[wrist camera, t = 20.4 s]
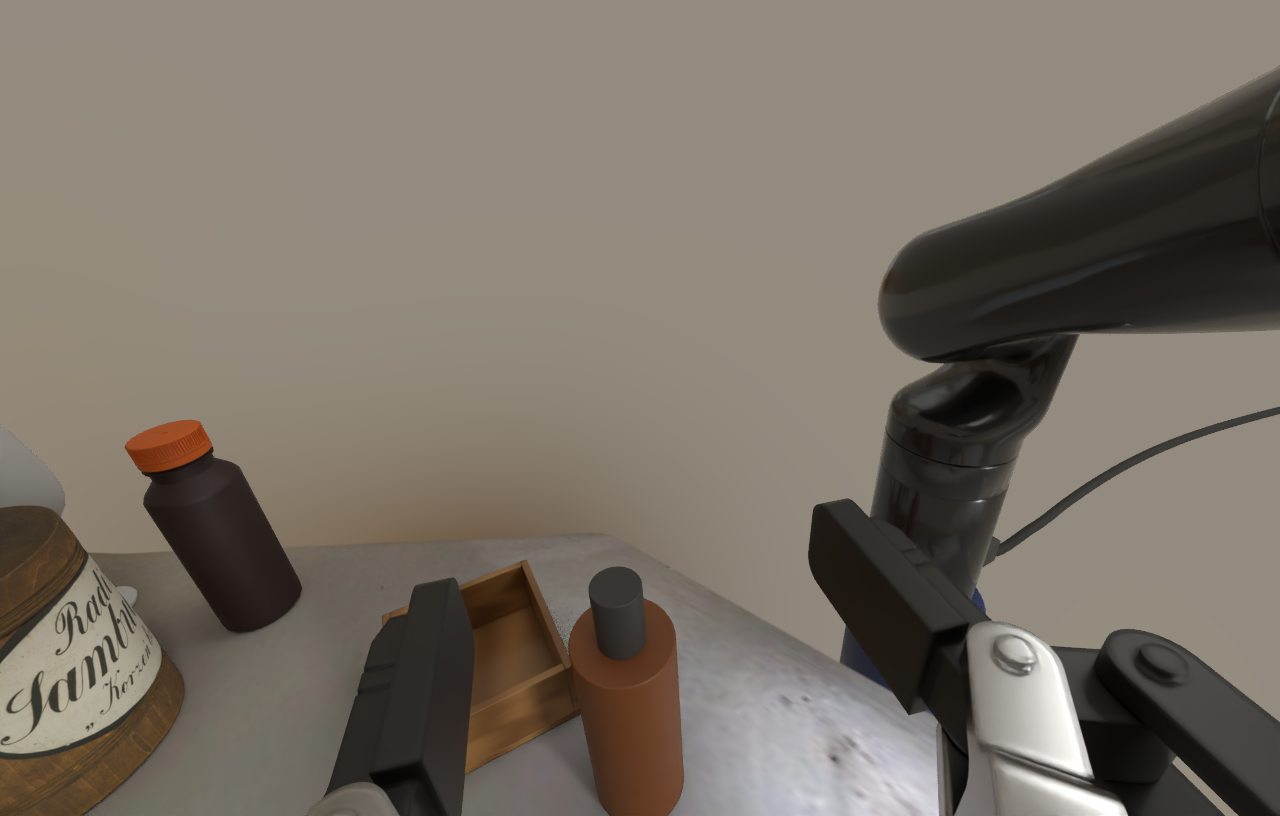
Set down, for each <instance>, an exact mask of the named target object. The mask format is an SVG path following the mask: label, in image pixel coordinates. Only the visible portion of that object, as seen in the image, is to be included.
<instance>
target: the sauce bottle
mask: <svg viewBox="0 0 1280 816" xmlns="http://www.w3.org/2000/svg"><path fill="white" fill-rule="evenodd" d="M589 597H590V603H591V607H590V608H589V609H588V610H587V611H585V612H584V613H583V614H582V615H581V616H580V618H579V619H578V620H577V622H576V623H575V625H574V627H573V629H572V632H571V634H570V638H569V645H568V649H569V657H570V662H571V666H572V671H573V676H574V681H575V686H576V691H577V696H578V700H579V705H580V710H581V715H582V720H583V725H584V729H585V734H586V739H587V744H588V749H589V754H590V758H591V763H592V768H593V773H594V778H595V783H596V787H597V792H598V796H599V799H600V801H601V803H602V805H603V807H604V808H605V810H606V811H607V812H608V813H609V815H610V816H667V815H668V814H669V813H670V812H671V811H672V809H673V808H674V807H675V805H676V804H677V802H678V800H679V797H680V795H681V792H682V788H683V782H684V771H683V754H682V737H681V719H680V702H679V684H678V667H677V649H676V634H675V629H674V626H673V623H672V621H671V619H670V618H669V616H668V615H667V614H666V612H665V611H664V610H663V609H662V608H661V607H659V606H658V605H656V604H655V603H653V602H651V601H649V600H647V599H644V598H643V589H642V581H641V579H640V577H639V576H638V574H637V573H636V572H634V571H633V570H631V569H629V568H625V567H610V568H607V569H604V570H602V571H601V572H599V573H598V574H596V575H595V576H594V577H593V579H592V580H591V582H590V585H589Z"/></svg>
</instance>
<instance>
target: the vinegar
mask: <svg viewBox="0 0 1280 816" xmlns="http://www.w3.org/2000/svg"><path fill="white" fill-rule="evenodd" d="M125 449H126V450H127V452H128V454H129V455H130V457H131V458H132V460H133V461H134V463H135V465H136V466H137V468H138V469H139V470H140V471H141V472H142V474H144V475H145V476H148V477H150V478H151V480H152V482H151V485H150V486H149V488H148V490H147V492H146V493H145V496H144V503H143V505H144V507H145V508H146V510H147V511H148V513H149V514H150V516H151V517H152V519H153V520H154V522H155V523H156V525H157V526H158V528H159V529H160V531H161V532H162V534H163V536H164V537H165V539H166V540H167V541H168V543H169V545H170V546H171V548H172V549H173V551H174V552H175V554H176V555H177V557H178V558H179V560H180V561H181V563H182V564H183V566H184V567H185V569H186V570H187V572H188V573H189V575H190V576H191V578H192V579H193V581H194V582H195V584H196V585H197V587H198V588H199V590H200V591H201V593H202V594H203V596H204V597H205V599H206V600H207V602H208V603H209V605H210V606H211V608H212V609H213V611H214V613H215V614H216V616H217V617H218V619H219V620H220V622H221V623H222V624H223V625H224V626H225V627H226V628H227V629H228V630H231V631H235V632H242V631H250V630H254V629H257V628H260V627H263V626H265V625H267V624H269V623H271V622H273V621H275V620H276V619H278V618H279V617H280V616H282V615H283V614H285V613H286V612H287V611H288V610H289V609H290V608H291V607H292V606H293V605H294V604H295V602H296V601H297V599H298V598H299V596H300V593H301V589H302V588H301V584H300V581H299V579H298V577H297V575H296V573H295V571H294V569H293V567H292V565H291V564H290V562H289V560H288V558H287V556H286V554H285V552H284V550H283V548H282V547H281V545H280V543H279V541H278V539H277V537H276V535H275V533H274V531H273V530H272V528H271V526H270V524H269V522H268V520H267V518H266V516H265V514H264V512H263V511H262V509H261V507H260V505H259V503H258V501H257V499H256V497H255V495H254V494H253V492H252V490H251V488H250V486H249V484H248V482H247V480H246V478H245V477H244V475H243V473H242V471H241V469H240V468H239V466H237V465H236V464H234V463H232V462H229V461H225V460H222V459H217V458H214V456H213V455H212V453H213V451H214V450H213V446H212V443H211V441H210V439H209V437H208V436H207V434H206V432H205V430H204V428H203V427H202V425H201V423H200V422H199V421H195V420H183V421H176V422H171V423H167V424H163V425H160V426H157V427H154V428H152V429H149V430H146V431H144V432H142V433H140V434H138V435H136V436H135V437H133V438H132V439H130V440H129V441H128V442H127V443H126V445H125Z"/></svg>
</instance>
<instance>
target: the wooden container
mask: <svg viewBox="0 0 1280 816" xmlns="http://www.w3.org/2000/svg"><path fill="white" fill-rule="evenodd" d="M183 697H184V683H183V678H182V676H181V674H180V672H179V671H178V669H177V668H176V666H175V665H174V664H173V662H172V661H171V660H170V658H169V657H168V656H167V654H166V653H165V652H164V650H163V649H162V648H161V646H160V645H159V643H158V641H157V640H156V638H155V637H154V636H153V634H152V633H151V632H150V630H149V629H148V628H147V626H146V625H145V624H144V622H143V621H142V620H141V618H140V617H139V616H138V615H137V613H136V612H135V611H134V610H133V608H132V607H131V606H130V605H129V603H128V602H127V601H126V600H125V598H124V597H123V596H122V595H121V594H120V593H119V591H118V590H117V589H116V588H115V586H114V585H113V584H112V583H111V581H110V580H109V579H108V578H107V576H106V575H105V574H104V573H103V572H102V570H101V569H100V568H99V566H98V565H97V564H96V563H95V562H94V560H93V559H92V558H91V557H90V555H89V554H88V553H87V552H86V551H85V550H84V548H83V547H82V546H81V544H80V542H79V541H78V540H77V538H76V537H75V535H74V534H73V532H72V531H71V530H70V528H69V527H68V526H67V525H66V523H65V522H64V521H63V520H62V519H61V517H60V516H59V515H58V514H57V513H56V512H55V511H53V510H52V509H49V508H46V507H42V506H32V505H25V506H10V507H3V508H0V816H80V815H82V814H83V813H85V812H86V811H87V810H89V809H90V808H91V807H93V806H94V805H95V804H97V803H98V802H99V801H101V800H102V799H103V798H104V797H106V796H107V795H108V794H109V793H110V792H112V791H113V790H114V789H115V788H116V787H117V786H119V785H120V784H121V783H122V782H123V781H124V780H125V779H126V778H127V777H128V776H130V775H131V774H132V773H133V772H134V771H135V770H136V769H137V768H138V767H139V766H140V765H141V764H142V762H143V761H144V760H145V759H146V758H147V757H148V756H149V755H150V754H151V752H152V751H153V750H154V749H155V748H156V746H157V745H158V744H159V743H160V741H161V740H162V739H163V737H164V736H165V734H166V733H167V732H168V730H169V729H170V727H171V725H172V724H173V722H174V720H175V718H176V716H177V714H178V712H179V709H180V707H181V704H182V700H183Z"/></svg>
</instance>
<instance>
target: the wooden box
mask: <svg viewBox="0 0 1280 816" xmlns="http://www.w3.org/2000/svg"><path fill="white" fill-rule="evenodd" d="M459 589H460V592H461V595H462V598H463V601H464V604H465V607H466V610H467V613H468V616H469V619H470V623H471V626H472V629H473V635H474V643H475V663H474V674H473V686H472V697H471V709H470V720H469V732H468V743H467V755H466V766H465V774H467V773H469V772H471V771H472V770H474V769H476V768H478V767H480V766H482V765H484V764H486V763H488V762H489V761H491V760H493V759H495V758H497V757H499V756H501V755H503V754H505V753H506V752H508V751H510V750H512V749H514V748H516V747H518V746H520V745H522V744H524V743H525V742H527V741H529V740H531V739H533V738H535V737H537V736H539V735H541V734H542V733H544V732H546V731H548V730H550V729H552V728H554V727H556V726H558V725H559V724H561V723H563V722H565V721H567V720H569V719H571V718H573V717H575V716H577V715H578V714H580V713H581V710H580V705H579V700H578V696H577V691H576V686H575V681H574V676H573V671H572V666H571V662H570V658H569V655H568V653H567V651H566V648H565V646H564V644H563V642H562V639H561V637H560V635H559V633H558V630H557V628H556V626H555V623H554V621H553V619H552V617H551V614H550V612H549V610H548V607H547V605H546V603H545V601H544V598H543V596H542V594H541V591H540V589H539V587H538V585H537V582H536V580H535V578H534V576H533V573H532V571H531V569H530V566H529V564H528V562H527V560H524V561H521V562H519V563H516V564H513V565H511V566H508V567H506V568H503V569H501V570H498V571H495V572H493V573H490V574H488V575H485V576H483V577H480V578H478V579H475V580H472V581H470V582H467V583H465V584H462V585H460V586H459ZM408 608H409V605H408V606H406V607H403V608H401V609H398V610H395V611H393V612H390V613H388V614H385V615H383V616H382V624H383V626H384V625H385V623H386V622H387V621H388V619H389V618H391V617H395V616H400V615H405V614H407V612H408Z"/></svg>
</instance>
